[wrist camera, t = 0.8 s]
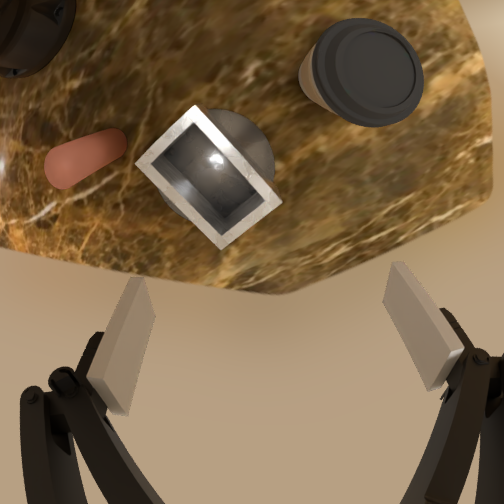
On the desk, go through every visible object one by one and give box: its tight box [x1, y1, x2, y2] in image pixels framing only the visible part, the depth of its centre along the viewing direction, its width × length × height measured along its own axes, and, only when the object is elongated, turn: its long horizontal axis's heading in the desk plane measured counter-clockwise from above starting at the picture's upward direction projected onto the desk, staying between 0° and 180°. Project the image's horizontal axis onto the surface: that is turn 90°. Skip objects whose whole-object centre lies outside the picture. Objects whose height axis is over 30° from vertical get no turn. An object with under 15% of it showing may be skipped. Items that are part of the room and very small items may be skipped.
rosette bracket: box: [135, 104, 282, 250], centre depth 32 cm, size 14×14×6 cm
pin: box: [44, 128, 127, 189], centre depth 27 cm, size 4×4×12 cm
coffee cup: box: [298, 18, 424, 127], centre depth 23 cm, size 9×9×15 cm
